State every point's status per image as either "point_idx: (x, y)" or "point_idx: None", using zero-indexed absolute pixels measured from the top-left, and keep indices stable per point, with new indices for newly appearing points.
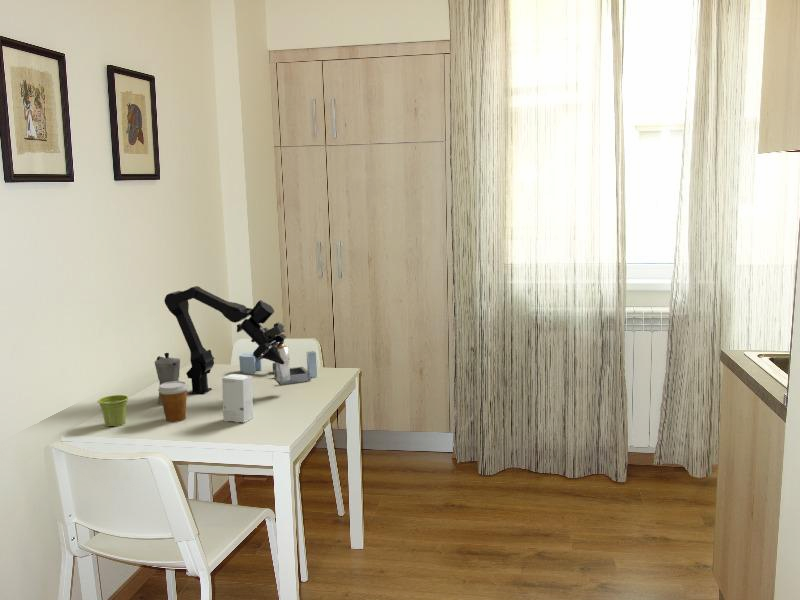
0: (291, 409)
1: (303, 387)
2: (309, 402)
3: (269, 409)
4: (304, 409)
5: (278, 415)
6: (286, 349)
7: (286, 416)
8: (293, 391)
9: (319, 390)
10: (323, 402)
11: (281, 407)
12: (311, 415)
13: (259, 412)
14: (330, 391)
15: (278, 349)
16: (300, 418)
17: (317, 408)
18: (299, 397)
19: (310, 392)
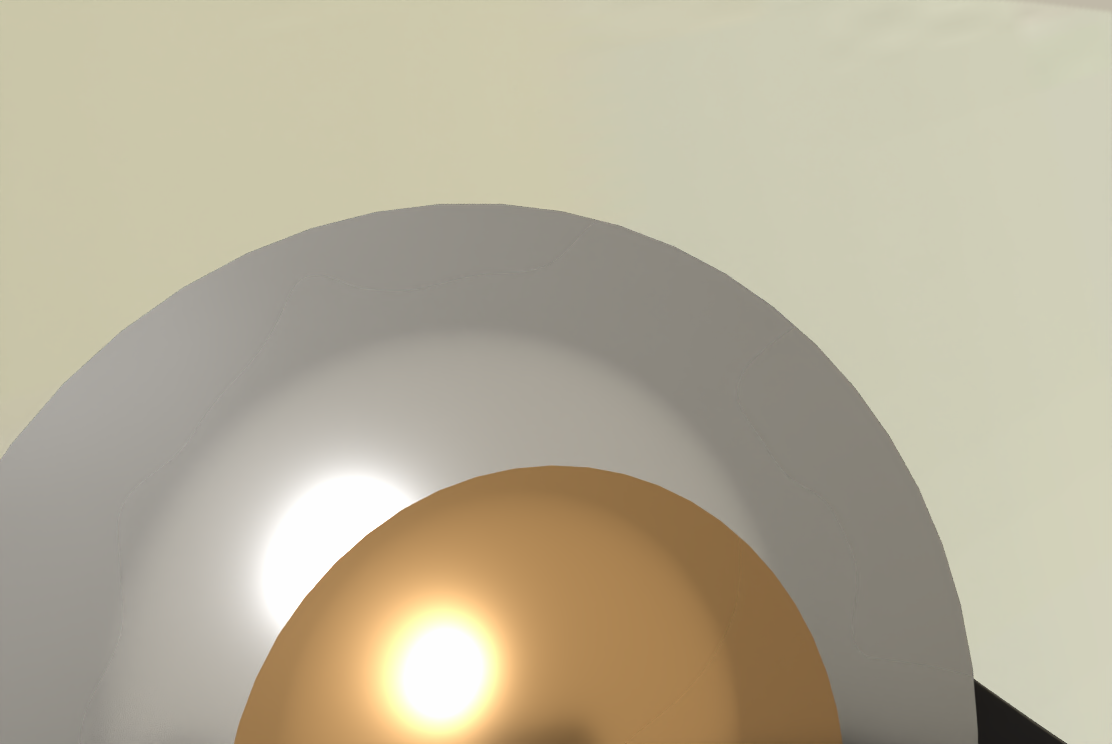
0: (921, 254)
1: (34, 414)
2: (685, 143)
3: (973, 478)
4: (893, 132)
5: (1091, 315)
6: (670, 280)
7: (1092, 234)
8: None
9: (194, 149)
10: (661, 6)
11: (891, 378)
12: (1015, 33)
13: (1073, 540)
14: (235, 9)
15: (950, 742)
16: (1099, 102)
17: (841, 24)
18: None
19: None
